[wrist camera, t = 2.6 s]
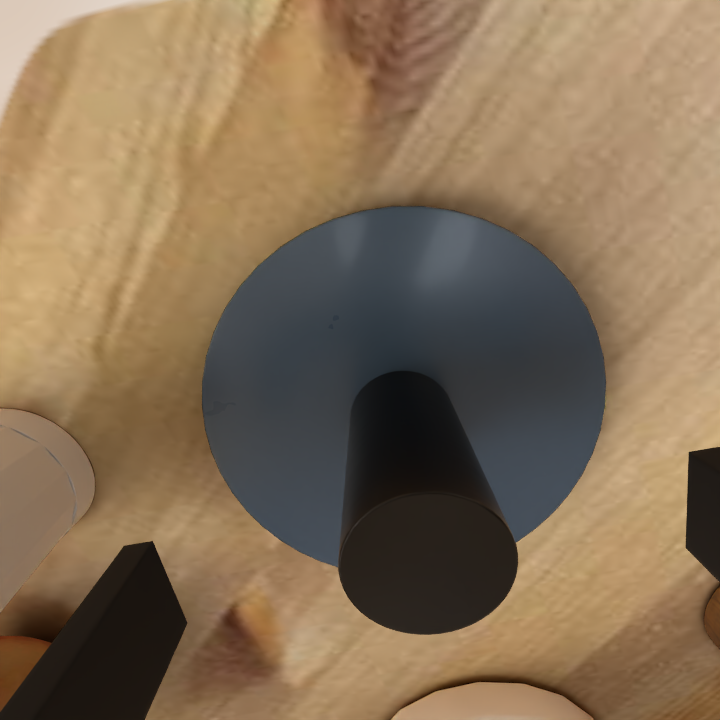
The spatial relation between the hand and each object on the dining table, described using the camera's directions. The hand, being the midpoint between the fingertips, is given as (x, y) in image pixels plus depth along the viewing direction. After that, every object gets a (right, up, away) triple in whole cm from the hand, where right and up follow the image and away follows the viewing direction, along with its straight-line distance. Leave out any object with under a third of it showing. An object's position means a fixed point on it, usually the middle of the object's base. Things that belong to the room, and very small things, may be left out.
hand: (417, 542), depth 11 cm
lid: (0, +2, +7) cm, 7 cm away
